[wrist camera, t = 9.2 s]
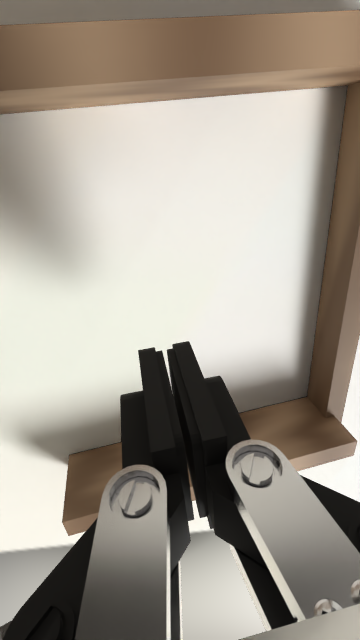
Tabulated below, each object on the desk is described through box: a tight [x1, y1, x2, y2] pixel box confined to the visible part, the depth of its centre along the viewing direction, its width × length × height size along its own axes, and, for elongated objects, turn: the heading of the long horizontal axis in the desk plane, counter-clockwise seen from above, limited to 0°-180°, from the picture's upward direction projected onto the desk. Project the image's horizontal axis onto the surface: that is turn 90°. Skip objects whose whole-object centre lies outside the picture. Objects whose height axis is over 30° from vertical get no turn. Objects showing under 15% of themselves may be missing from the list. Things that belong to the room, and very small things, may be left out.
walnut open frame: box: [0, 10, 360, 536], centre depth 14 cm, size 17×19×4 cm
